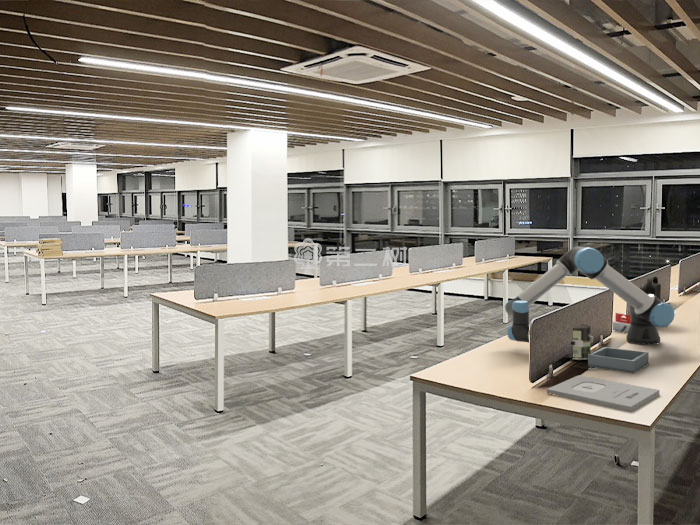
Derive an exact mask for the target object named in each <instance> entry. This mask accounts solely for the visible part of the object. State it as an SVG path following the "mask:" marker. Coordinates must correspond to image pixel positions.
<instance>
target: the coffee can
mask: <svg viewBox="0 0 700 525" xmlns="http://www.w3.org/2000/svg"><path fill="white" fill-rule="evenodd" d="M580 324H581V323H580ZM591 328H592V327H591V325H588V324H581V325H580V326H577V327H575V328H573V340H581V341H583V347H577V346H573V358H572V359H571V360H577V361H584V360H586V361H588V355H589V354H591V353H592V352H591V350H592V349H591V347H592V346H591V341H590V336H591Z"/></svg>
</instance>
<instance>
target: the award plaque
mask: <svg viewBox="0 0 700 525" xmlns="http://www.w3.org/2000/svg"><path fill="white" fill-rule="evenodd" d="M547 393H551V394H555V395H554V396H556V395H559V396H558V397H561V396H562V397H561V398H565V397H566V399H570V400H574V401H580V402H584V403H588V404H589V403H590V404H593V405H597V406H603V407H607V408H612V409H617V410H622V411H625V412H630V413H631V412H633V411H635V410H636V409H638V408H640V407H641V406H643V405H645V404H646V403H648V402H651V401H652V400H653V399H655V398H656V397H658V396H659V395H660V389H657V388H651V387H646V386H640V385H634V384H629V383H623V382H618V381H613V380H606V379H602V378H596V377H590V376H585V375H580V374H578V375H575V376H574V377H572V378H569V379H567V380H564V381H562V382H560V383H558V384H557V383H556V384H555V385H553V386H551V387H548V388H546V394H547ZM551 394H550V395H551Z"/></svg>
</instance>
